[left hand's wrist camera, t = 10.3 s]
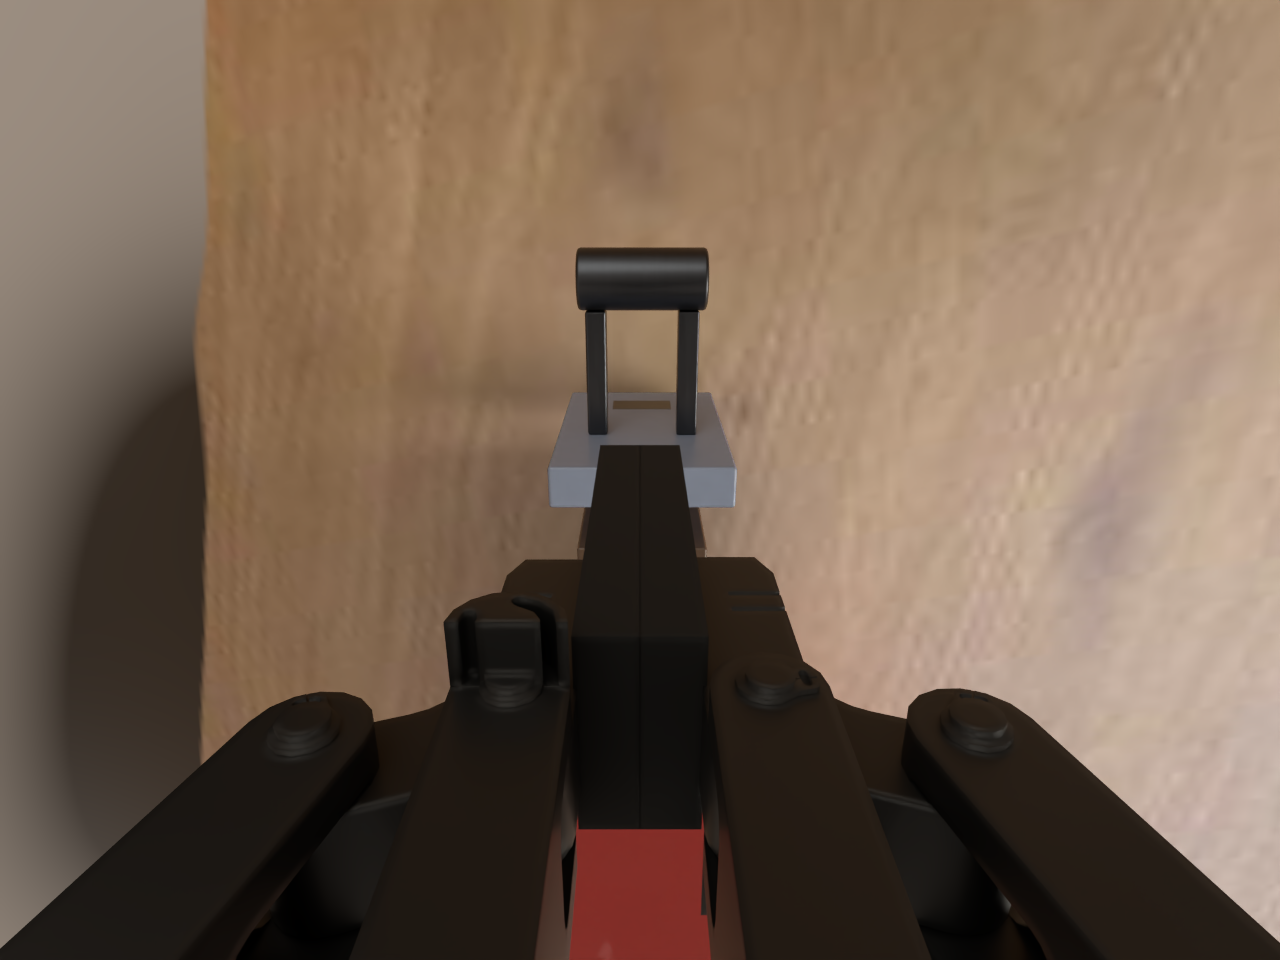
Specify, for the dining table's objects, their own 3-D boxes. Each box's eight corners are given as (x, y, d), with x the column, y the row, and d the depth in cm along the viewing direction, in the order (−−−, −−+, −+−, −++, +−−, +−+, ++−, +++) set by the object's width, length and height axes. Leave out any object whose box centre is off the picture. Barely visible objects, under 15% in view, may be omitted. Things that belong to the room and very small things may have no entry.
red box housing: (567, 618, 33) (537, 789, 23) (715, 618, 33) (745, 789, 23) (579, 937, 40) (560, 1167, 30) (702, 937, 40) (721, 1167, 30)
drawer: (567, 236, 26) (537, 256, 19) (716, 236, 26) (747, 257, 19) (584, 775, 35) (568, 941, 27) (697, 775, 35) (714, 941, 27)
